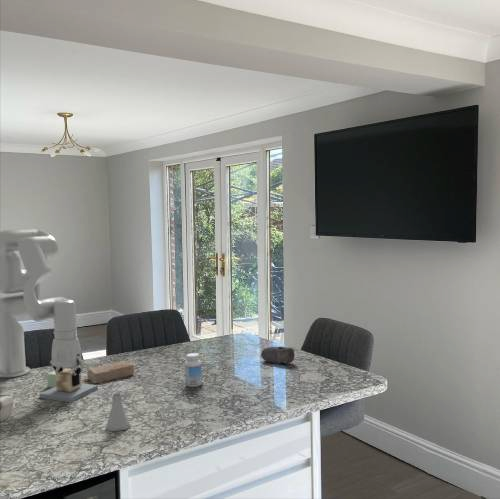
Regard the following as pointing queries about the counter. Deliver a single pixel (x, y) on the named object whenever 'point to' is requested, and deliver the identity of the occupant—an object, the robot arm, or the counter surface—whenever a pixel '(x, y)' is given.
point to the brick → (110, 371)
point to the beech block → (66, 381)
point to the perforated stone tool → (278, 355)
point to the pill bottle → (193, 370)
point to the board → (68, 393)
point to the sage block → (51, 379)
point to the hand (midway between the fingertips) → (68, 383)
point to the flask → (117, 415)
